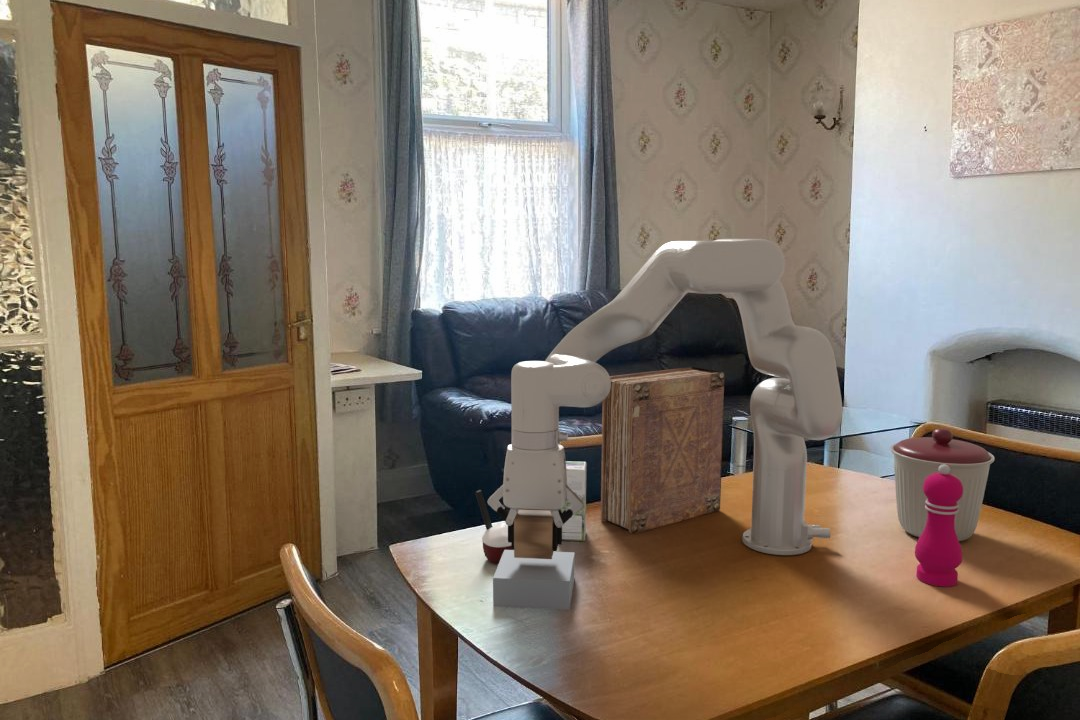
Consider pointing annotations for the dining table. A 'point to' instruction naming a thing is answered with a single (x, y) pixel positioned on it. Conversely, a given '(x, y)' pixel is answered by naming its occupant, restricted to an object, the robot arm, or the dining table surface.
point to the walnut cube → (533, 534)
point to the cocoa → (493, 534)
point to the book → (661, 447)
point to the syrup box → (577, 483)
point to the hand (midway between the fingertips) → (535, 546)
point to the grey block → (534, 581)
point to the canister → (925, 458)
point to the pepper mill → (940, 530)
